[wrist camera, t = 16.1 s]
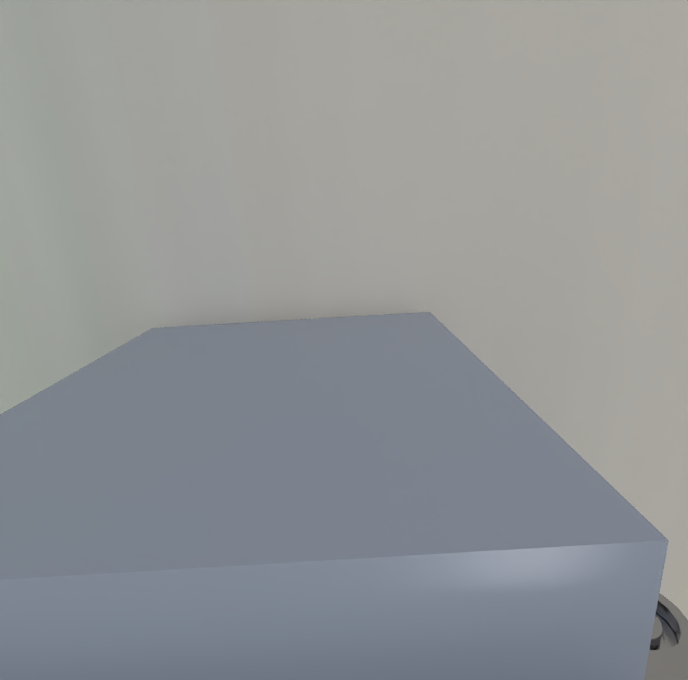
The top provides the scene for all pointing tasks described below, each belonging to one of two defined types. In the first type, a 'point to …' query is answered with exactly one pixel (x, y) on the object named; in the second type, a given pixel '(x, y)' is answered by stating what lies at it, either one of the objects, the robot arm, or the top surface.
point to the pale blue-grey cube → (310, 517)
